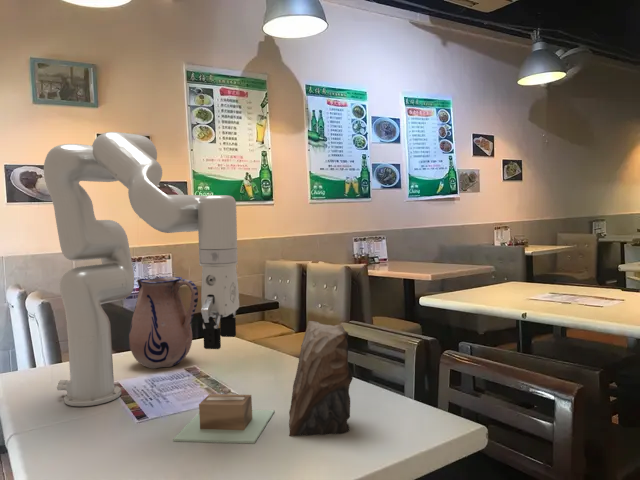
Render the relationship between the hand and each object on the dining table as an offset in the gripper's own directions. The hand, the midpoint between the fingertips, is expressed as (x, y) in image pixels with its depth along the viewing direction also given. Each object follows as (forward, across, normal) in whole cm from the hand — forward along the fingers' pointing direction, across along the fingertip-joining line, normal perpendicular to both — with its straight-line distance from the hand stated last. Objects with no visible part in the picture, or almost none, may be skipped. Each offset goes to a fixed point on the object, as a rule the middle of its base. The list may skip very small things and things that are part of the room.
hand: (220, 342), depth 111 cm
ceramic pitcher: (+18, +44, +31) cm, 57 cm away
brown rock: (+17, +1, -19) cm, 25 cm away
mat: (+17, 0, -1) cm, 17 cm away
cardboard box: (+17, 0, -1) cm, 17 cm away
